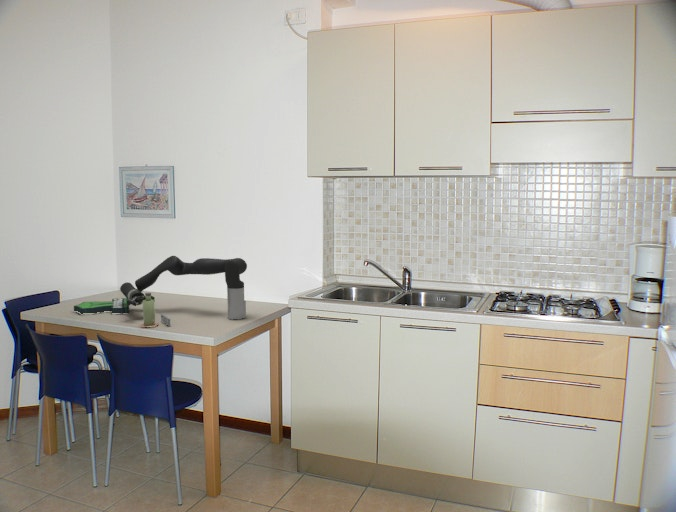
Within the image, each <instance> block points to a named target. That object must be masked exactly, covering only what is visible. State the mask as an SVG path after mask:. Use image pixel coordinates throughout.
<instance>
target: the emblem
mask: <svg viewBox="0 0 676 512" xmlns="http://www.w3.org/2000/svg"><path fill="white" fill-rule="evenodd" d="M126 299H127V298H126V297H124V298H123V297H119V298H118V297H116V298H112V299H111V301H84V302H81V303H79V304H75V305H73V312H74V311H78V312H80V313H81V314H83V313H97V312H104V311H112V312H111V314H112V313H128V314H130V305H127V303H126Z"/></svg>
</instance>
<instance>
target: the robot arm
mask: <svg viewBox="0 0 676 512" xmlns="http://www.w3.org/2000/svg"><path fill="white" fill-rule="evenodd" d="M247 268H248V264H247V261H246V260H244V259H243V258H241V257H236V258H228V259H226V258H225V259H224V258H223V259H222V258H209V257H206V258H201V257H200V258H197V259H196V260H194V261H193V262H184V261H183V260H181V259H180V258H179V257H178V256H176V255H171V256H169V257H167V258H165V259H164V260H163V261H162V262H160V263H159V264H158V265H157V266H155V267H154V268H153V269H151V271H149V272H148V273H145V275H143V276H141V277H139V278H137V279H136V280H135V282H134V285H135V286H134V285H133V284H132V283H131V282H124V283H123V284H121V285H120V288H119V289H120V292H121V293H122V294H123V296H124V298H127V299H126V303H127V305H129V306H134V307H136V306H140V305H143V300H146V295H145V293H143V291H144V290H146V289H148V288H150V287H152V286H153V285H154V284H155V283H156V282H157V280H158V278H159V277H160V275H161V274H163V273H164V272H167V271H168V272H169V273H171V274H172V275H174V276H186V275H201V276H202V275H207V276H208V275H217V274H218V275H219V274H222V273H224V277H225V278H224V279H225V283H226V287H227V288H226V291H227V296H226V297H227V319H229V320H233V319H237V320H242V318H243V319H245V318H247V302H246V300H245V282H244V281H242V280H241V278H240V275H242V274H244V273H245V272H246V270H248V269H247ZM135 287H136V288H135ZM151 299H152V300H154V303H155V297H154V296H153V295H151Z"/></svg>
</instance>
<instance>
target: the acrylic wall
mask: <svg viewBox="0 0 676 512" xmlns="http://www.w3.org/2000/svg"><path fill="white" fill-rule="evenodd" d="M160 318H161V321H160V322H162V321H163V322H164V323H165V324H167V325H168V326H170V327H171V318H169V317H168V316H166V315H165V314H164V313H161V314H160ZM163 322H162V323H163ZM164 323H163V324H164ZM165 324H164V325H165ZM167 325H166V326H167ZM168 326H167V327H168Z"/></svg>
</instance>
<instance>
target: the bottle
mask: <svg viewBox="0 0 676 512" xmlns="http://www.w3.org/2000/svg"><path fill="white" fill-rule="evenodd" d="M144 295H145V296H146V300H143V303H142V312H143V313H142V317H143V318H142V319H143V324H144V326H153V325H155V323H156V319H155V318H156V317H155V316H156V315H155V302H154V300H152V299H151V296H152V293H151V292H145V293H144Z"/></svg>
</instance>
